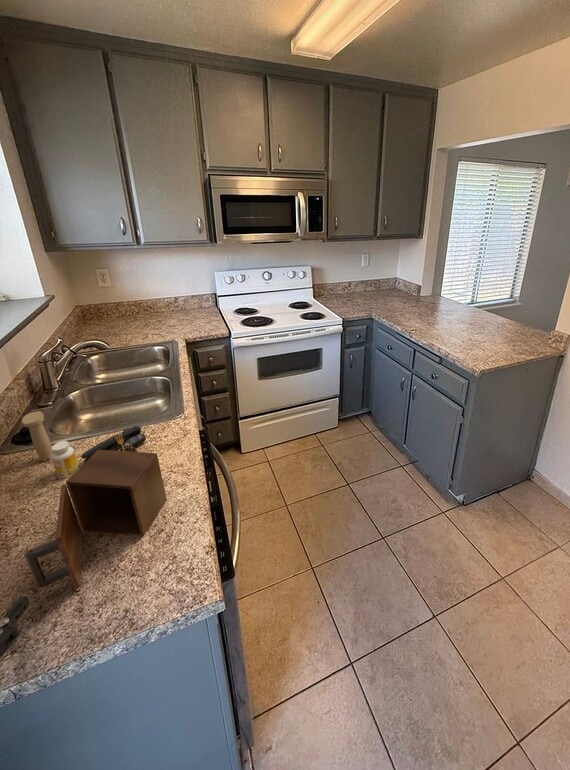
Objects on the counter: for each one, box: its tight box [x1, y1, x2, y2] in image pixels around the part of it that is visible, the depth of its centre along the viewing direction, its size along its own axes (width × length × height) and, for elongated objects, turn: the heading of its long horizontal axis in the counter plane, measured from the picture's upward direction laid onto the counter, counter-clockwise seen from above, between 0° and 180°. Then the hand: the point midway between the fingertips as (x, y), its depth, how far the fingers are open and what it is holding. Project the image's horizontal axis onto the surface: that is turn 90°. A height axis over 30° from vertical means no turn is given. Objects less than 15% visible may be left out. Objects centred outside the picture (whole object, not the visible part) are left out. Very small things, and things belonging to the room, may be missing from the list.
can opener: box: [80, 425, 147, 464], centre depth 112 cm, size 18×7×6 cm, turn 134°
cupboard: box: [65, 450, 168, 537], centre depth 88 cm, size 11×16×16 cm
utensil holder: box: [114, 431, 138, 452], centre depth 103 cm, size 6×6×12 cm
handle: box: [21, 410, 53, 462], centre depth 107 cm, size 5×6×15 cm
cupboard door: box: [24, 483, 83, 590], centre depth 75 cm, size 6×16×15 cm, turn 31°
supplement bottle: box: [51, 440, 80, 479], centre depth 103 cm, size 5×5×10 cm
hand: (4, 596), depth 65 cm, fingers open, 8 cm apart
